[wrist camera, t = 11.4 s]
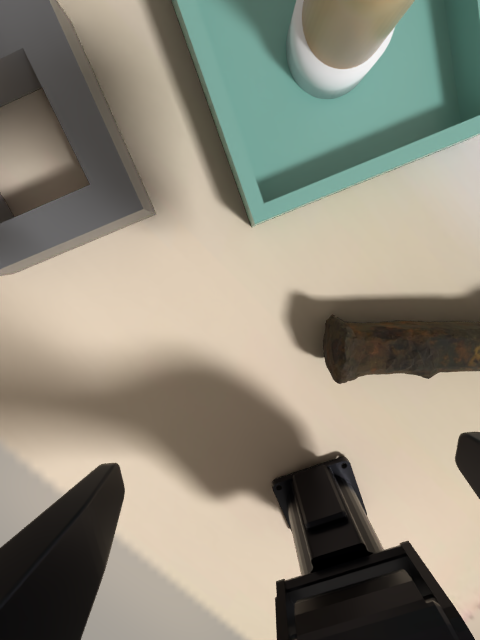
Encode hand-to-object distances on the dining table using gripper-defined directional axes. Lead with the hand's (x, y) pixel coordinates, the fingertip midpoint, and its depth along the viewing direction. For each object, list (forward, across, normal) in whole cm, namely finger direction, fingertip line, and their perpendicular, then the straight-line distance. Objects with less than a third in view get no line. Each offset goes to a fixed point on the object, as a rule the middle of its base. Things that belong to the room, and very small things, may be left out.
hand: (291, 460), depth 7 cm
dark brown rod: (+12, -14, +1) cm, 19 cm away
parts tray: (+12, -5, -15) cm, 20 cm away
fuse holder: (+12, +12, -11) cm, 20 cm away
